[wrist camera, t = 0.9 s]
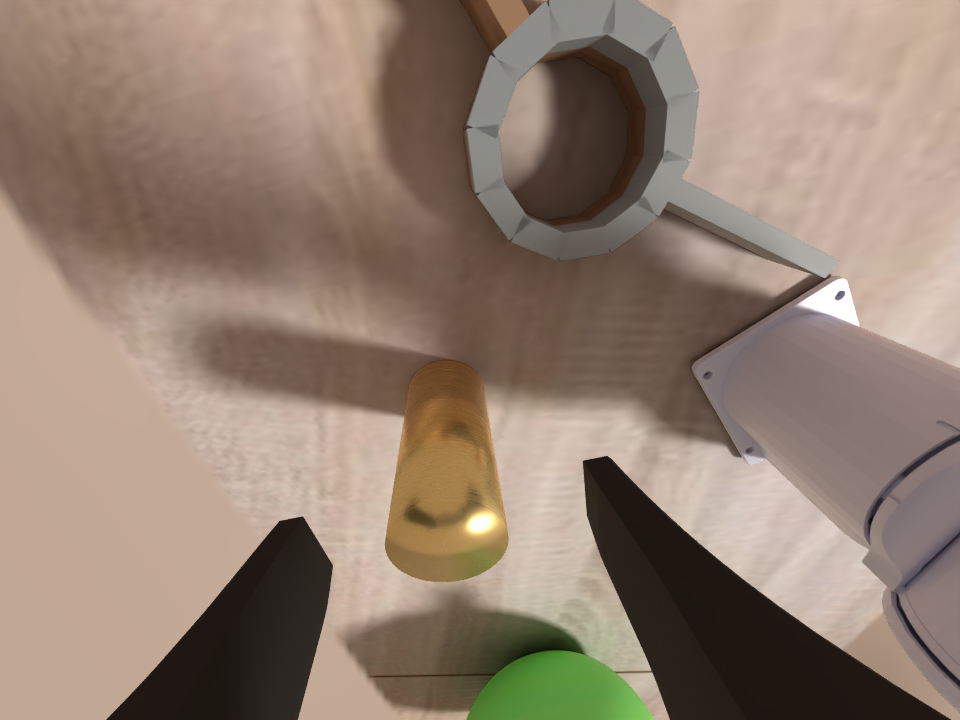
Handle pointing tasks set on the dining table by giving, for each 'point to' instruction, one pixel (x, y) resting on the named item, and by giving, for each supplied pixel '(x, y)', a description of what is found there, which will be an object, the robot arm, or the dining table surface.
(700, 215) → the slate hinge leaf
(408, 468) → the brass hinge pin
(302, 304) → the dining table surface
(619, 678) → the green rounded blob
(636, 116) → the walnut hinge leaf
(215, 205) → the dining table surface
